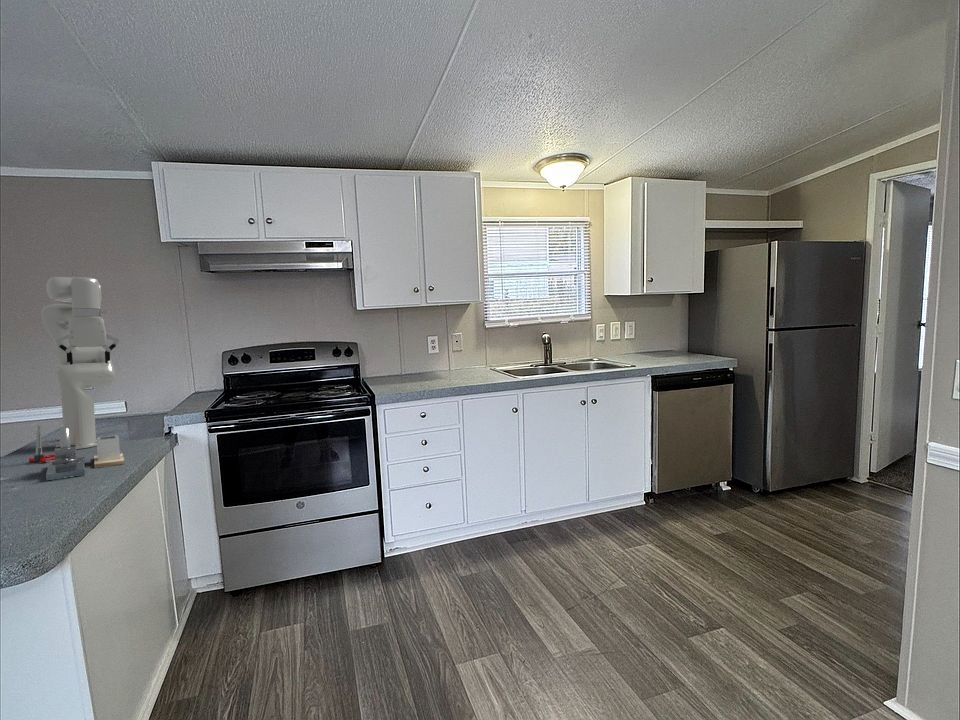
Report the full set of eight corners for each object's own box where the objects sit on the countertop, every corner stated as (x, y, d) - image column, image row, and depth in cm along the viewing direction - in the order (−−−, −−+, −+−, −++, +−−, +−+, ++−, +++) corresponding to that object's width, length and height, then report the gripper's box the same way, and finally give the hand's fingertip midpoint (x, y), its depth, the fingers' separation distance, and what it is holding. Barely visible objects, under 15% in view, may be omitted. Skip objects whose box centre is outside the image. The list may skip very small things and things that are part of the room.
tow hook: (53, 456, 178) (25, 462, 169) (53, 420, 178) (25, 424, 169) (73, 457, 177) (47, 463, 168) (73, 421, 176) (47, 425, 167)
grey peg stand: (50, 467, 164) (47, 425, 163) (85, 462, 169) (82, 421, 168) (46, 481, 150) (43, 435, 148) (84, 475, 155) (82, 431, 154)
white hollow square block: (97, 457, 171) (96, 437, 171) (119, 454, 175) (118, 434, 174) (98, 461, 167) (96, 440, 166) (120, 458, 170) (119, 438, 170)
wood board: (94, 458, 174) (94, 455, 174) (122, 455, 179) (122, 451, 179) (94, 468, 163) (94, 464, 163) (124, 464, 168) (124, 460, 168)
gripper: (117, 314, 179) (119, 361, 180) (54, 313, 168) (57, 364, 170) (118, 314, 173) (120, 363, 174) (52, 313, 162) (55, 365, 164)
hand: (89, 363), depth 172 cm, fingers open, 9 cm apart
